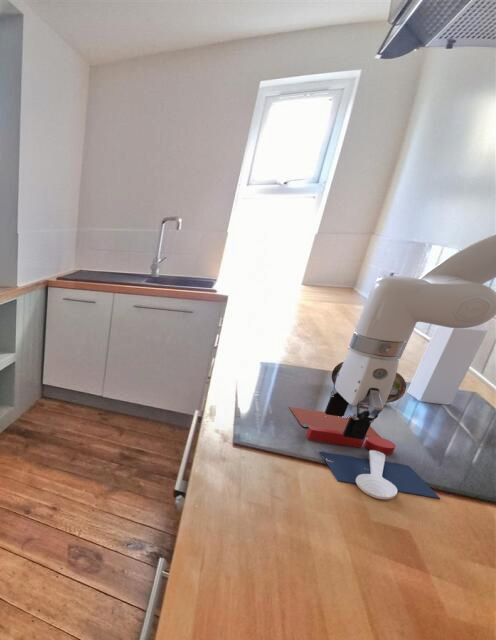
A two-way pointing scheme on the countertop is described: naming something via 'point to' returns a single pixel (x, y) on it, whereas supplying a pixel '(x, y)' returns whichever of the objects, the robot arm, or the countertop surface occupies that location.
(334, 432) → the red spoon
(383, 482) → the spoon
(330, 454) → the blue mat
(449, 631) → the countertop surface
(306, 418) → the terracotta mat
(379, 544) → the countertop surface
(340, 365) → the tin
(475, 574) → the countertop surface
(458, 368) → the milk
